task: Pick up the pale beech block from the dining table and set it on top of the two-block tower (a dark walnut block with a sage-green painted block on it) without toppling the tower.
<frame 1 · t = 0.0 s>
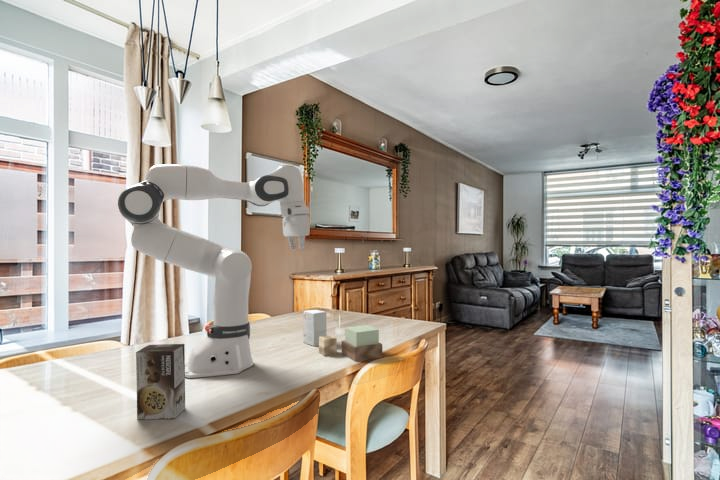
hand: (297, 248, 141), 39 cm above the table, tool pointing down, fingers open, 8 cm apart
coffee box: (161, 414, 94), on the table
sage block: (361, 342, 142), point 5 cm above the table, touching walnut block
walnut block: (361, 356, 142), on the table, touching sage block
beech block: (327, 353, 144), on the table
small box: (315, 343, 159), on the table
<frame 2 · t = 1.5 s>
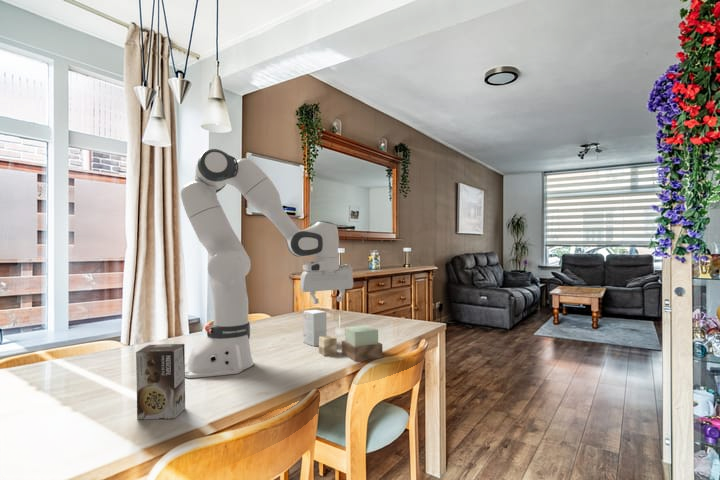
hand: (327, 302, 145), 19 cm above the table, tool pointing down, fingers open, 8 cm apart
nothing on the table moved.
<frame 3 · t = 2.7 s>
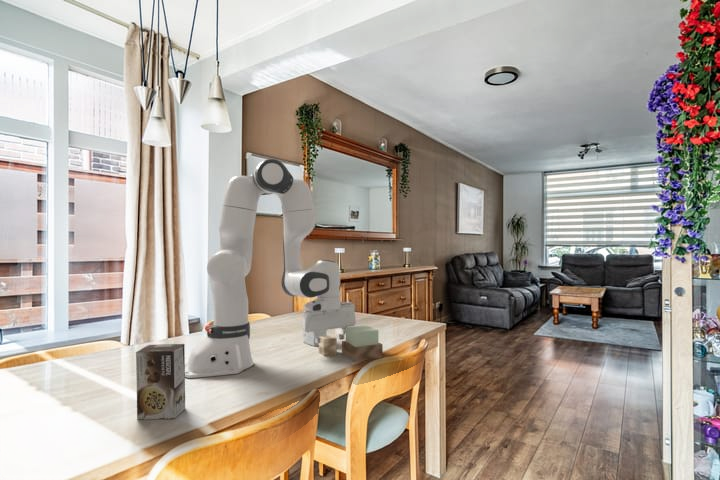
hand: (330, 340, 144), 5 cm above the table, tool pointing down, fingers open, 8 cm apart
nothing on the table moved.
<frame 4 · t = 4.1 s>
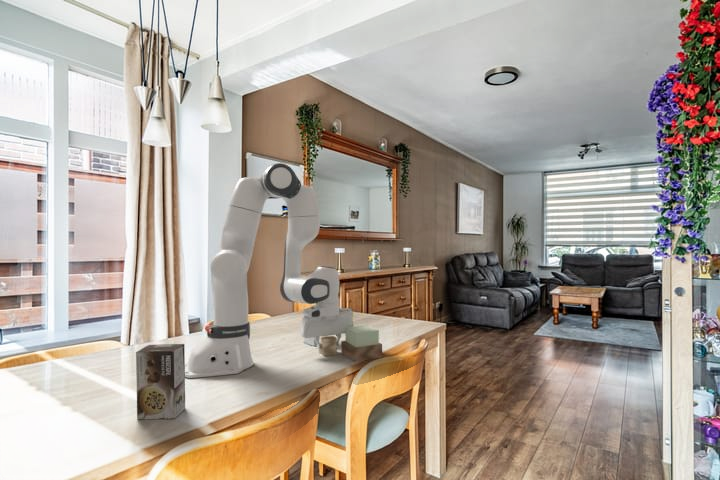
hand: (327, 347, 144), 2 cm above the table, tool pointing down, fingers closed on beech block, 5 cm apart
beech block: (327, 353, 144), on the table, touching gripper
everything else where it was.
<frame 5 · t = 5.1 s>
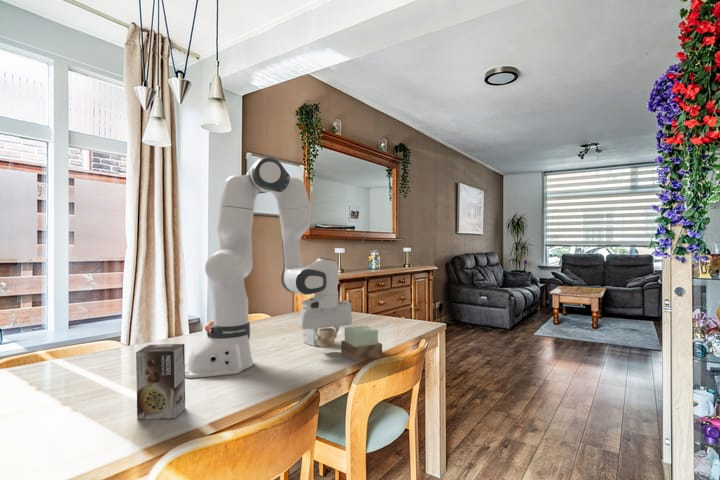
hand: (325, 338, 145), 5 cm above the table, tool pointing down, fingers closed on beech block, 5 cm apart
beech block: (325, 345, 145), point 3 cm above the table, touching gripper
everything else where it was.
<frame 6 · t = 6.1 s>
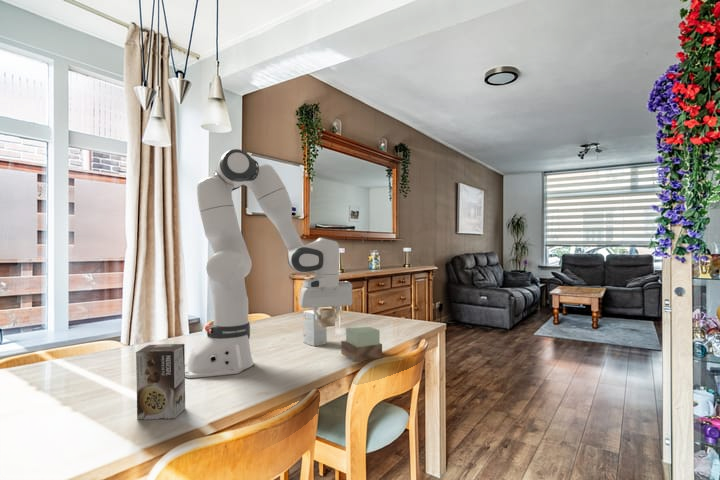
hand: (326, 318, 144), 13 cm above the table, tool pointing down, fingers closed on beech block, 5 cm apart
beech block: (325, 325, 144), point 10 cm above the table, touching gripper
everything else where it was.
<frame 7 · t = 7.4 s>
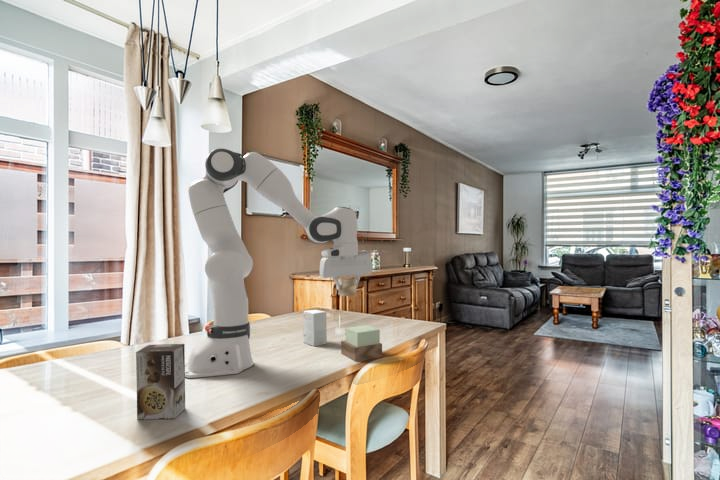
hand: (347, 288, 143), 24 cm above the table, tool pointing down, fingers closed on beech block, 5 cm apart
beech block: (347, 294, 143), point 22 cm above the table, touching gripper
everything else where it was.
when the fingers open (14 cm above the table, at t = 11.0 s): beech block drops 2 cm, resting on sage block.
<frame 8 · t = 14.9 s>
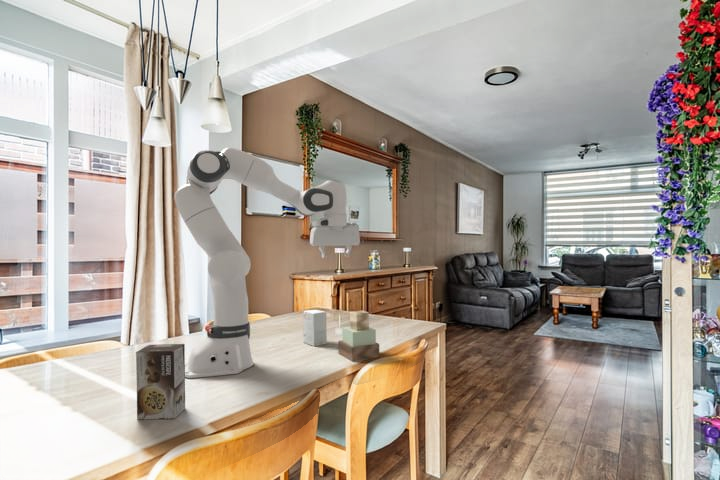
hand: (335, 257, 153), 35 cm above the table, tool pointing down, fingers open, 8 cm apart
sage block: (359, 342, 142), point 5 cm above the table, touching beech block, walnut block
walnut block: (358, 356, 142), on the table, touching sage block
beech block: (359, 328, 142), point 10 cm above the table, touching sage block
everything else where it was.
at the end: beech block 0.3 cm off-centre on the sage block, point 5.0 cm above the sage block's base; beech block tilted 0°; sage block tilted 0° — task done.
